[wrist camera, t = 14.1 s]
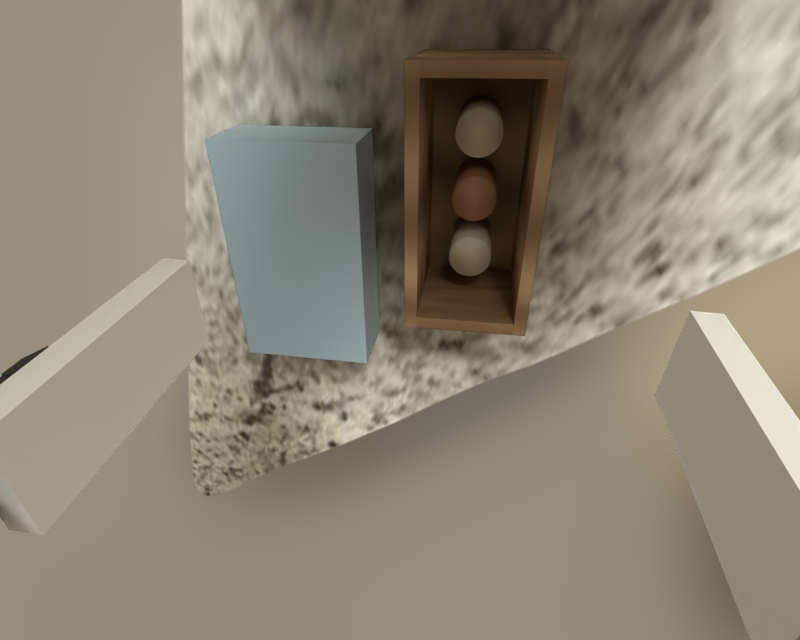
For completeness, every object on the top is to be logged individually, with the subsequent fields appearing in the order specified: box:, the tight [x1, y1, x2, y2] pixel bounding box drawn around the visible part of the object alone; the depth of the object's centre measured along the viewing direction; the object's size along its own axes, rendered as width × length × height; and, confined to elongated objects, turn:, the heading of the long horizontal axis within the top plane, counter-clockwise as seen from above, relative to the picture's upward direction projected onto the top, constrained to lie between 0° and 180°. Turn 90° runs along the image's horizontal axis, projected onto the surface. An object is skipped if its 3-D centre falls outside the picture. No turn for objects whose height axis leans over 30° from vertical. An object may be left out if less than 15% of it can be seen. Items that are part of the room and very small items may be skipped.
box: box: [404, 49, 568, 336], centre depth 32 cm, size 16×8×9 cm, turn 0°
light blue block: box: [205, 125, 379, 363], centre depth 38 cm, size 17×10×6 cm, turn 0°
